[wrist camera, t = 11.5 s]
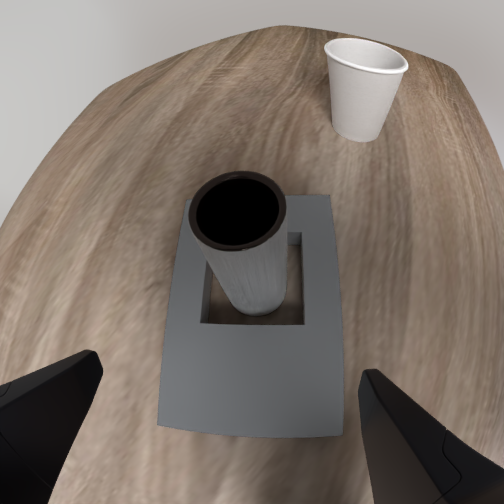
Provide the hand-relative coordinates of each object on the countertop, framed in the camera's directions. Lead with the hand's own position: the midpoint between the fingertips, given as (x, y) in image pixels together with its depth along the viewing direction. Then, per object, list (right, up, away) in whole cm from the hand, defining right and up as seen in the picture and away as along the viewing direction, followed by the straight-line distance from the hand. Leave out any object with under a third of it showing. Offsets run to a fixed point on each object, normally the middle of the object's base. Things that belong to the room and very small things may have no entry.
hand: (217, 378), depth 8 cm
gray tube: (+1, +1, +14) cm, 14 cm away
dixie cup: (+13, +18, +21) cm, 31 cm away
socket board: (+1, 0, +13) cm, 13 cm away
